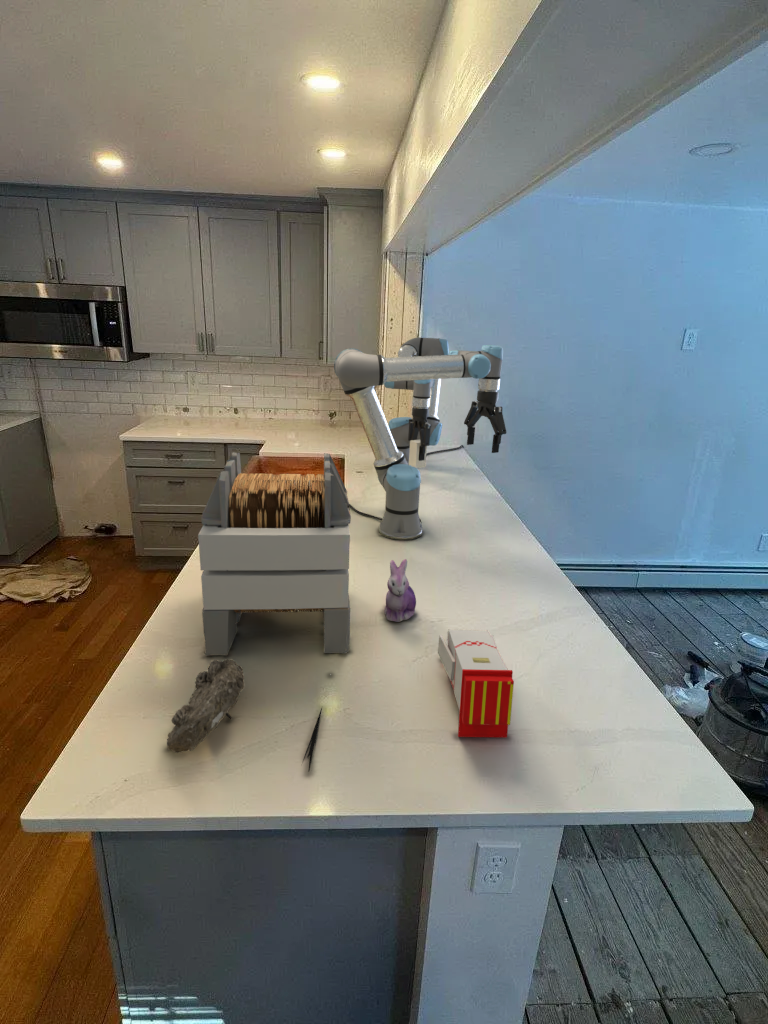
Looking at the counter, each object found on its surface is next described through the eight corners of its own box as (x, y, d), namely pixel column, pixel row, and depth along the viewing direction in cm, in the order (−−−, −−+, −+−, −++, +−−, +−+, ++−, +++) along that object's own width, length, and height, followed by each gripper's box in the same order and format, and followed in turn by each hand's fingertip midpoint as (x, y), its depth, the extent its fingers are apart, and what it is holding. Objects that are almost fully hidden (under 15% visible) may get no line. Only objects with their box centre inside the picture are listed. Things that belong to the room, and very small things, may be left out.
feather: (331, 679, 122) (336, 673, 122) (307, 777, 96) (313, 769, 95) (324, 675, 122) (329, 669, 121) (298, 772, 95) (304, 764, 95)
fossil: (192, 660, 117) (244, 628, 112) (224, 691, 120) (276, 661, 115) (142, 746, 98) (202, 712, 93) (182, 779, 101) (242, 748, 96)
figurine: (392, 627, 141) (395, 572, 136) (374, 608, 149) (376, 556, 144) (425, 619, 145) (429, 566, 140) (405, 601, 154) (408, 550, 149)
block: (415, 468, 254) (417, 442, 250) (408, 465, 258) (410, 440, 254) (425, 466, 258) (427, 441, 254) (418, 464, 261) (420, 439, 257)
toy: (488, 613, 130) (523, 677, 101) (484, 667, 133) (517, 744, 104) (435, 612, 130) (455, 676, 101) (432, 666, 133) (451, 743, 103)
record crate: (226, 586, 157) (217, 442, 143) (344, 585, 161) (346, 445, 147) (202, 658, 125) (189, 482, 112) (350, 654, 129) (354, 483, 115)
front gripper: (521, 395, 195) (513, 455, 202) (473, 385, 215) (467, 440, 222) (505, 395, 191) (498, 457, 198) (457, 386, 211) (453, 442, 218)
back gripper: (440, 410, 244) (436, 462, 252) (415, 403, 258) (411, 453, 266) (427, 411, 240) (423, 464, 248) (401, 404, 254) (399, 455, 262)
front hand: (482, 448), depth 210 cm, fingers open, 13 cm apart
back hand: (417, 458), depth 257 cm, fingers closed on block, 5 cm apart
